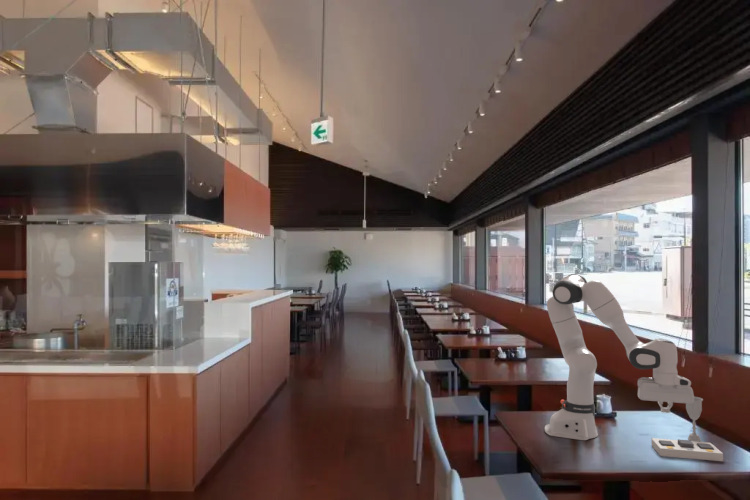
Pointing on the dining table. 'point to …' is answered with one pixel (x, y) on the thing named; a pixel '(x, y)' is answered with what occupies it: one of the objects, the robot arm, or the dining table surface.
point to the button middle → (685, 443)
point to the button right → (705, 446)
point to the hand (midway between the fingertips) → (665, 412)
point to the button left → (666, 443)
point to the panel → (687, 451)
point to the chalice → (694, 416)
